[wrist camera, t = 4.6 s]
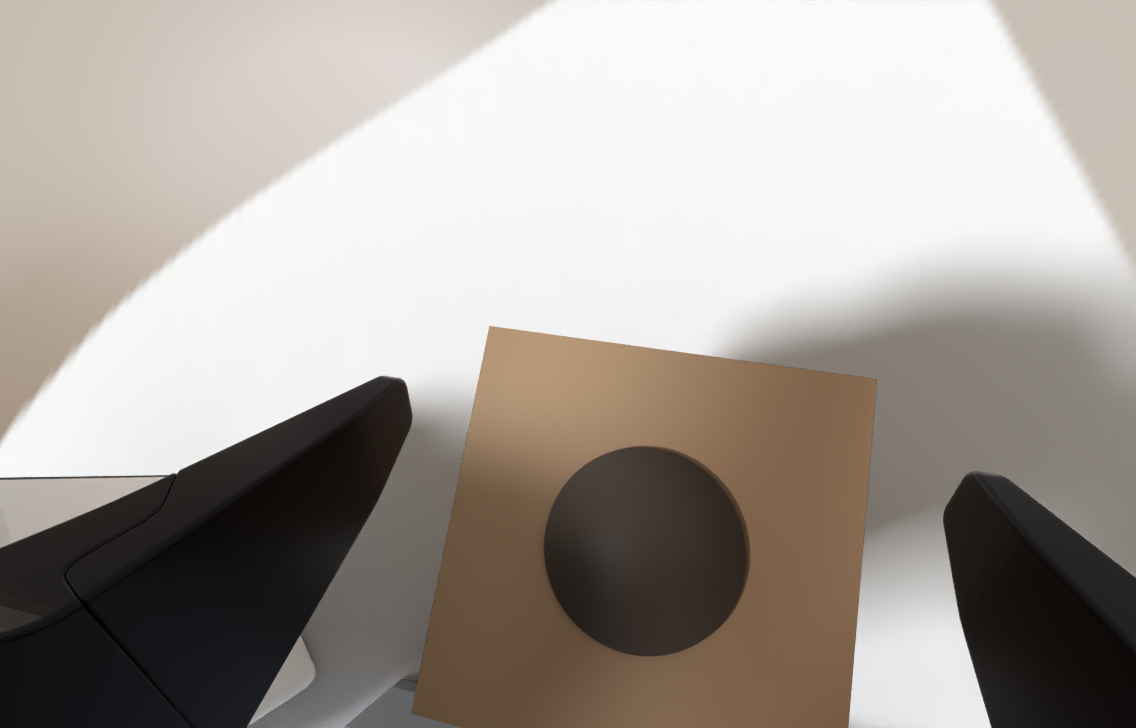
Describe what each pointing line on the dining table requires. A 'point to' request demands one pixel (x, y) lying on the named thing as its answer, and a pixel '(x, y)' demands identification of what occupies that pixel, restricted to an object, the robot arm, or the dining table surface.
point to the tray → (395, 711)
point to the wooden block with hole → (650, 542)
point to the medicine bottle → (44, 502)
